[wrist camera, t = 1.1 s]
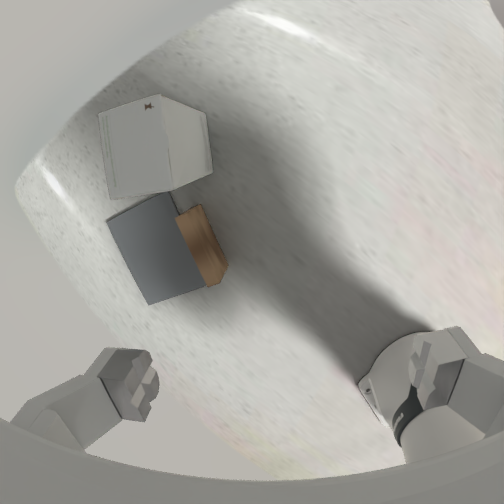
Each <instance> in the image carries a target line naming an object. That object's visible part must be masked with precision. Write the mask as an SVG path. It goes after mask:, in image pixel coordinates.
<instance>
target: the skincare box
mask: <svg viewBox="0 0 504 504" xmlns="http://www.w3.org/2000/svg"><path fill="white" fill-rule="evenodd" d="M98 120H99V128H100V137H101V144H102V152H103V159H104V166H105V172H106V179H107V184H108V190H109V196H110V200H115V199H123V198H129V197H135V196H142V195H148V194H154V193H160V192H166V191H172V190H175V189H177V188H179V187H181V186H184V185H186V184H188V183H191V182H193V181H195V180H197V179H200V178H202V177H205V176H207V175H209V174H212V173H213V165H212V157H211V149H210V142H209V134H208V127H207V120H206V114H205V113H203V112H201V111H199V110H196V109H194V108H191V107H189V106H187V105H184V104H182V103H179V102H177V101H174V100H172V99H169V98H167V97H165V96H163V95H162V94H156V95H152V96H149V97H145V98H142V99H139V100H136V101H133V102H130V103H127V104H124V105H121V106H118V107H115V108H112V109H109V110H107V111H104V112H101V113H98Z"/></svg>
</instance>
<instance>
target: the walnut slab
mask: <svg viewBox="0 0 504 504" xmlns="http://www.w3.org/2000/svg"><path fill="white" fill-rule="evenodd" d="M175 220H176V222H177V224H178V227H179V229H180V231H181V233H182V235H183V237H184V239H185V242H186V244H187V246H188V248H189V250H190V252H191V254H192V256H193V258H194V260H195V262H196V264H197V266H198V269H199V271H200V273H201V275H202V277H203V279H204V281H205V283H206V285H207V287H210V286H213V285H216V284H219V283H220V282H221V279H222V277H223V275H224V273H225V271H226V269H227V267H228V263H227V261H226V259H225V257H224V254H223V252H222V250H221V248H220V246H219V244H218V241H217V239H216V237H215V235H214V233H213V230H212V228H211V226H210V224H209V222H208V219H207V217H206V215H205V213H204V211H203V208H202V206H201V204H199V205H197V206H195V207H193V208H191V209H189V210H187V211H185V212H184V213H182V214H181V215H179V216H177V217H176V218H175Z"/></svg>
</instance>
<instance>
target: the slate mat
mask: <svg viewBox="0 0 504 504" xmlns="http://www.w3.org/2000/svg"><path fill="white" fill-rule="evenodd" d="M177 216H179V213H178V211H177V208H176V206H175V204H174V202H173V200H172V197H171V195H170V193H169V191H166V192H163V193H161V194H159V195H157V196H155V197H153V198H151V199H149V200H147V201H145V202H143V203H141V204H139V205H138V206H136V207H134V208H132V209H130V210H128V211H126V212H124V213H123V214H121V215H119V216H117V217H115V218H114V219H112V220H110V221H108V222H107V225H108V227H109V229H110V231H111V233H112V235H113V238H114V240H115V242H116V244H117V246H118V248H119V250H120V252H121V254H122V256H123V258H124V260H125V262H126V264H127V266H128V268H129V270H130V272H131V274H132V276H133V278H134V280H135V282H136V283H137V285H138V287H139V289H140V291H141V293H142V295H143V296H144V298H145V300H146V302H147V304H148V305H152V304H154V303H157V302H160V301H163V300H166V299H169V298H172V297H175V296H178V295H181V294H183V293H186V292H189V291H192V290H195V289H198V288H201V287H204V286H206V283H205V281H204V279H203V277H202V275H201V273H200V271H199V269H198V266H197V264H196V262H195V260H194V258H193V256H192V254H191V252H190V250H189V248H188V246H187V244H186V242H185V239H184V237H183V235H182V233H181V231H180V229H179V227H178V224H177V222H176V220H175V218H176V217H177Z"/></svg>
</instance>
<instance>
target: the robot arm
mask: <svg viewBox="0 0 504 504" xmlns="http://www.w3.org/2000/svg"><path fill="white" fill-rule="evenodd" d="M152 361H153V360H152V358H151V355H150V353H149V352H148V351H146V350H138V349H126V348H114V347H107V348H104V350H103V351H102V352H101V353H100V355H99V356H98V357H97V359H96V360H95V361H94V363H93V364H92V365H91V366H90V367H89V369H88V370H87V371H86V373H85V374H84V375H79V376H77V377H75V378H73V379H71V380H69V381H67V382H65V383H63V384H61V385H59V386H57V387H55V388H53V389H50V390H49V391H47V392H44V393H42V394H41V395H38V396H36V397H34V398H32V399H30V400H28V401H27V402H26V403H25V404H24V406H23V407H22V408H21V410H20V411H19V412H18V413H17V414H16V416H15V417H14V418H13V419H12V421H11V422H10V423H9V422H7V421H5V420H3V419H1V418H0V504H504V361H502V360H500V359H498V358H495V357H493V356H491V355H489V354H486V353H485V354H481V352H480V351H479V350H478V349H477V347H476V346H475V345H474V343H473V342H472V341H471V340H470V338H469V337H468V336H467V335H466V334H465V332H464V331H463V330H462V329H461V327H458V326H455V327H450V328H446V329H444V330H439V331H434V332H418V333H413V334H410V335H407V336H404V337H402V338H400V339H398V340H397V341H395V342H393V343H392V344H391V345H389V346H388V347H387V348H386V349H385V350H384V351H383V352H382V353H381V354H380V355H379V356H378V358H377V359H376V361H375V362H374V364H373V366H372V368H371V370H370V372H369V373H368V374H367V375H366V376H365V377H363V378H362V379H361V381H360V382H359V383H358V387H359V389H360V391H361V393H362V394H363V396H364V397H365V399H366V400H367V402H368V403H369V405H370V406H371V408H372V409H373V411H374V413H375V414H376V416H377V417H378V419H379V420H380V422H381V423H382V425H383V426H384V427H390V428H391V429H392V431H393V433H394V436H395V439H396V441H397V442H398V444H399V446H400V447H401V448H402V450H403V453H404V457H405V461H406V464H404V465H400V466H395V467H391V468H386V469H381V470H376V471H371V472H365V473H359V474H352V475H345V476H337V477H328V478H317V479H303V480H279V481H254V480H253V481H251V480H229V479H215V478H203V477H195V476H187V475H180V474H173V473H167V472H161V471H155V470H150V469H145V468H140V467H135V466H131V465H127V464H123V463H118V462H115V461H111V460H107V459H104V458H100V457H97V456H93V455H90V454H87V453H86V452H85V451H84V449H86V448H87V447H88V446H90V445H91V444H92V443H94V442H95V441H96V440H98V439H99V438H100V437H101V436H103V435H104V434H105V433H107V432H108V431H109V430H110V429H111V428H113V427H114V426H115V425H117V424H118V423H119V422H120V421H122V419H126V420H132V421H139V422H145V420H146V418H147V416H148V414H149V411H150V410H151V406H150V403H149V402H151V401H152V400H154V399H155V398H156V397H157V394H158V392H159V391H158V390H159V377H158V374H157V371H156V370H155V369H153V368H152V367H151V366H150V365H151V363H152Z"/></svg>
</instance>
